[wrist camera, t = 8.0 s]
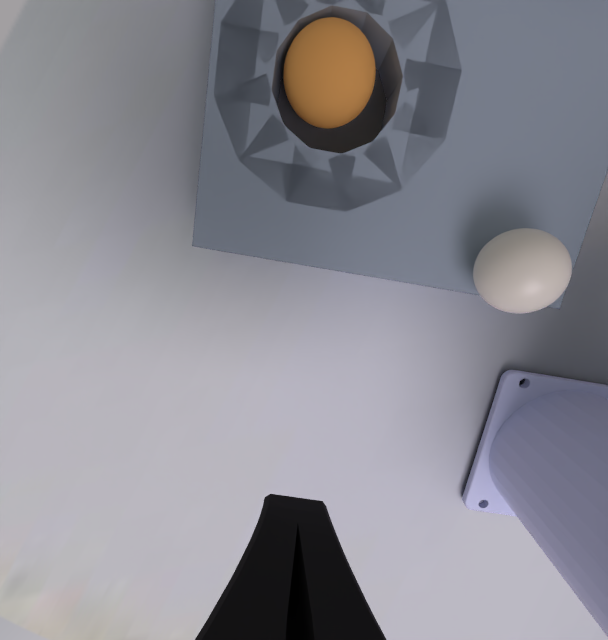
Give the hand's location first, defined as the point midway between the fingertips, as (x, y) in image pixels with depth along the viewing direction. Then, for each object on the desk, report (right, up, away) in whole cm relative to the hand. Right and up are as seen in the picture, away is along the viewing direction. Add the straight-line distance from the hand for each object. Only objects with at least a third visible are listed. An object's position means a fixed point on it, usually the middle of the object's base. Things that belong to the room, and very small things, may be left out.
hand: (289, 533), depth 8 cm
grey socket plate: (+4, +13, +7) cm, 16 cm away
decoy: (+8, +7, +4) cm, 11 cm away
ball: (+1, +14, +5) cm, 15 cm away
